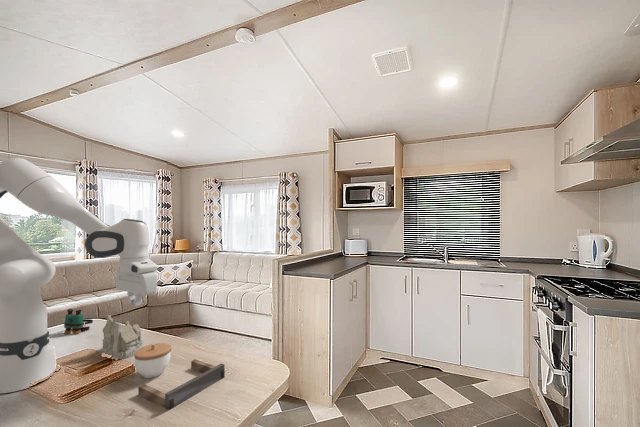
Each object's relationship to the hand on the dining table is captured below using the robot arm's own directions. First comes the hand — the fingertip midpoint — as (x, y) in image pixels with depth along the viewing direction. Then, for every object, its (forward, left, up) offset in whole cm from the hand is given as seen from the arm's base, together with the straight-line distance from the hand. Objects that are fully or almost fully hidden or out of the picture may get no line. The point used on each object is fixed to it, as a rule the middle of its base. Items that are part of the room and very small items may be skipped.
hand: (135, 304), depth 106 cm
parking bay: (+26, 0, -21) cm, 33 cm away
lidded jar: (+11, 0, -21) cm, 24 cm away
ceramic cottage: (-17, +5, -22) cm, 28 cm away
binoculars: (-59, +6, -21) cm, 64 cm away
